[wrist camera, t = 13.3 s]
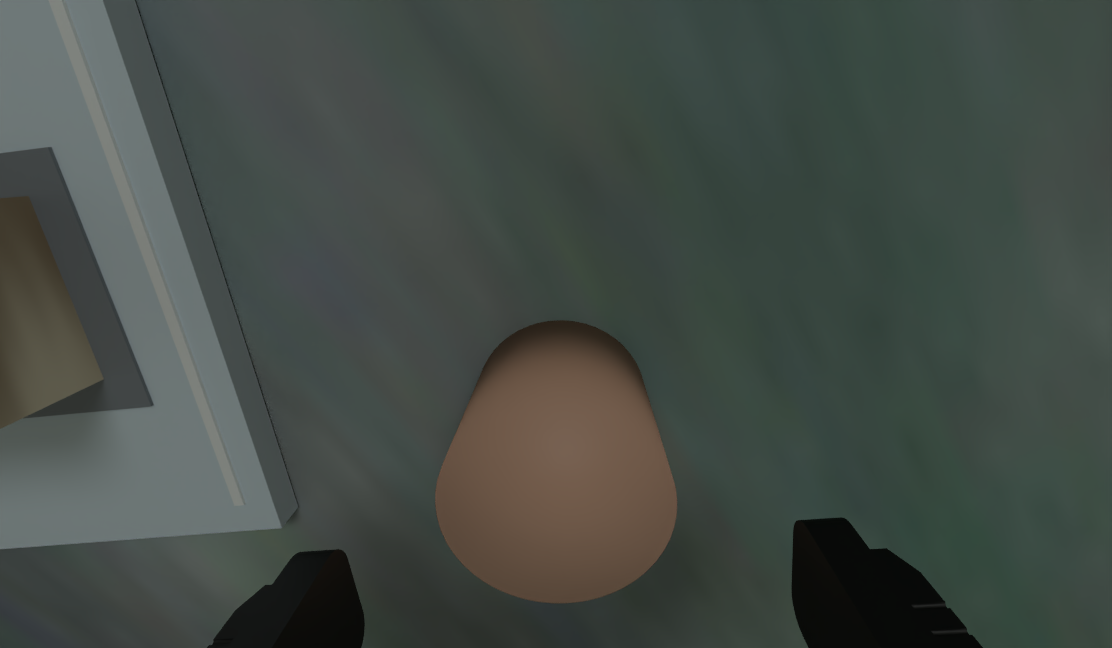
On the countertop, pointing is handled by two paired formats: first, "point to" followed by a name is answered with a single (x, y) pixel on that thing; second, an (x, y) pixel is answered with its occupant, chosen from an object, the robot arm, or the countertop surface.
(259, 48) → the countertop surface
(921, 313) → the countertop surface
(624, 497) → the terracotta cylinder
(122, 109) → the base
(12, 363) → the birch cube
